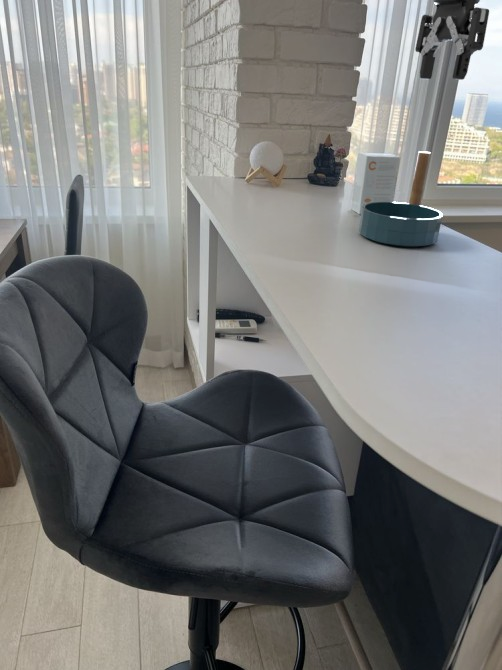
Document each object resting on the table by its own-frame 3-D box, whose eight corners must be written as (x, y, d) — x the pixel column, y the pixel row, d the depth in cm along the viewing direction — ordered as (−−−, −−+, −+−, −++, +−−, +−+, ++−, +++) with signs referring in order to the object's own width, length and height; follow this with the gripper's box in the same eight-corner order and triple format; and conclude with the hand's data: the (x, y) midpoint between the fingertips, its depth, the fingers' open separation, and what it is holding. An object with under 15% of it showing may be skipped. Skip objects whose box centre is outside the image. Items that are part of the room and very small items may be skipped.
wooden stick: (416, 223, 112) (430, 152, 105) (416, 225, 110) (430, 153, 103) (405, 222, 113) (419, 151, 106) (404, 224, 111) (418, 152, 104)
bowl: (437, 234, 104) (443, 207, 102) (434, 253, 91) (441, 223, 89) (365, 224, 108) (369, 198, 106) (352, 241, 96) (356, 212, 93)
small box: (381, 209, 124) (390, 153, 118) (391, 215, 118) (401, 156, 112) (349, 208, 122) (357, 152, 117) (358, 214, 117) (367, 155, 111)
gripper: (512, -33, 80) (486, 81, 87) (449, -20, 92) (430, 79, 99) (477, -40, 77) (453, 78, 85) (416, -26, 89) (399, 77, 96)
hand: (441, 79), depth 92 cm, fingers open, 8 cm apart
